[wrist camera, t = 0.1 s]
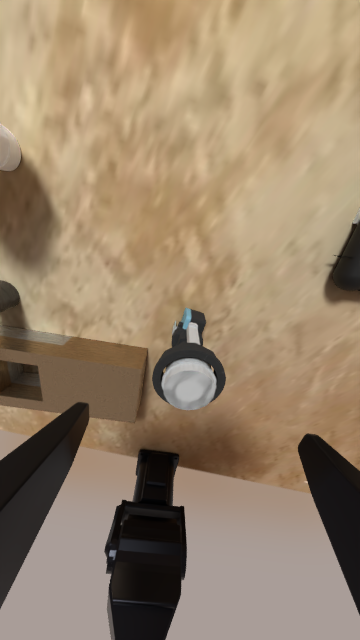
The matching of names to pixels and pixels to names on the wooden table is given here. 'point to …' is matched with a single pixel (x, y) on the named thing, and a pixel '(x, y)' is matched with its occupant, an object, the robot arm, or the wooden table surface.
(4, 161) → the pipe fitting
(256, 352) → the wooden table surface
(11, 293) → the metal knob
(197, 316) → the push button
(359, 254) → the black frame
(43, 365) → the tan and silver block
